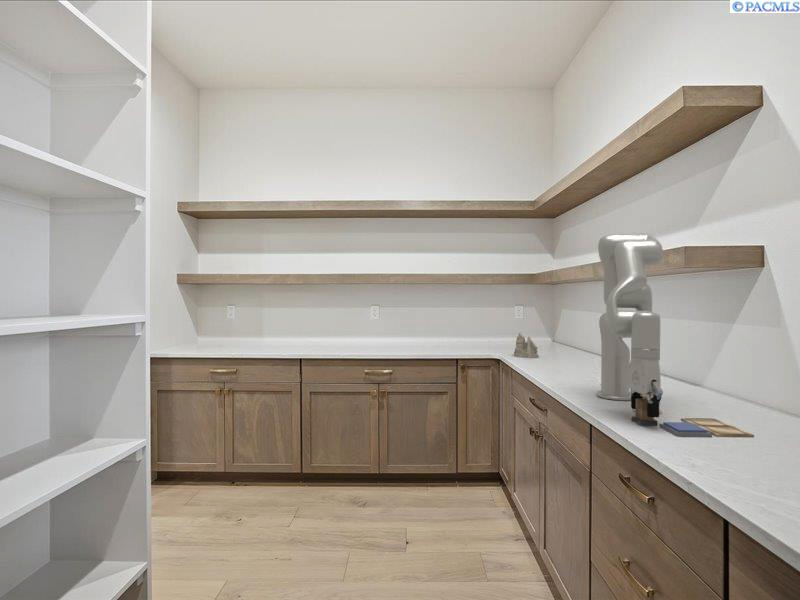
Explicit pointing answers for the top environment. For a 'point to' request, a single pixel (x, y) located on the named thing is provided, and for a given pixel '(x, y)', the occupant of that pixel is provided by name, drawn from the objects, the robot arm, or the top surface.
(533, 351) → the castle ruin model
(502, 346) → the top surface
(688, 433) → the ink pad
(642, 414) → the stamp
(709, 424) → the board
